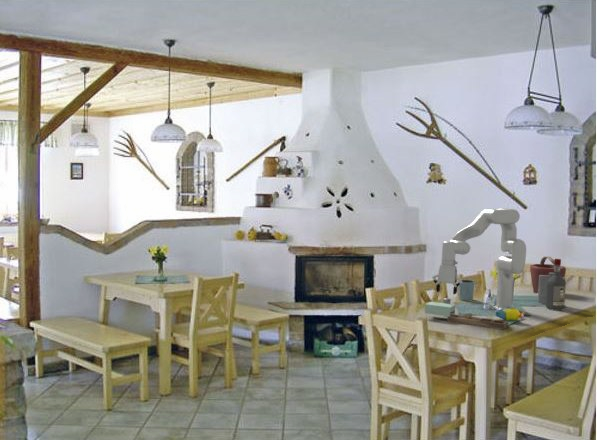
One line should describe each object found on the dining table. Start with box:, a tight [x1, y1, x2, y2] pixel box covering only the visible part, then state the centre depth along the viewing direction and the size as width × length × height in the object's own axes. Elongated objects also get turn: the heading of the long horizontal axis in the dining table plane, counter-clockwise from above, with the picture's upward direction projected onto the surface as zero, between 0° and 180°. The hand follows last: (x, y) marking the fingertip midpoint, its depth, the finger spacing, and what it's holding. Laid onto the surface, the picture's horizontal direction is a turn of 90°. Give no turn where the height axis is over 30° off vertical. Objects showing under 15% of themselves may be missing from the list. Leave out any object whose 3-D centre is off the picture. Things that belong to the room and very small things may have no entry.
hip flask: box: [537, 273, 566, 305], centre depth 422 cm, size 16×4×20 cm, turn 51°
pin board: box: [447, 313, 510, 330], centre depth 363 cm, size 9×30×4 cm, turn 59°
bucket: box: [529, 256, 567, 294], centre depth 464 cm, size 24×22×25 cm
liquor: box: [545, 258, 567, 311], centre depth 409 cm, size 9×9×30 cm
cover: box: [424, 301, 456, 317], centre depth 373 cm, size 9×14×5 cm, turn 59°
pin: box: [442, 298, 452, 304], centre depth 389 cm, size 4×4×8 cm
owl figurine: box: [494, 307, 527, 327], centre depth 371 cm, size 28×9×15 cm
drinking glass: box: [458, 279, 476, 302], centre depth 433 cm, size 10×10×12 cm
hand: (446, 292), depth 388 cm, fingers open, 9 cm apart
